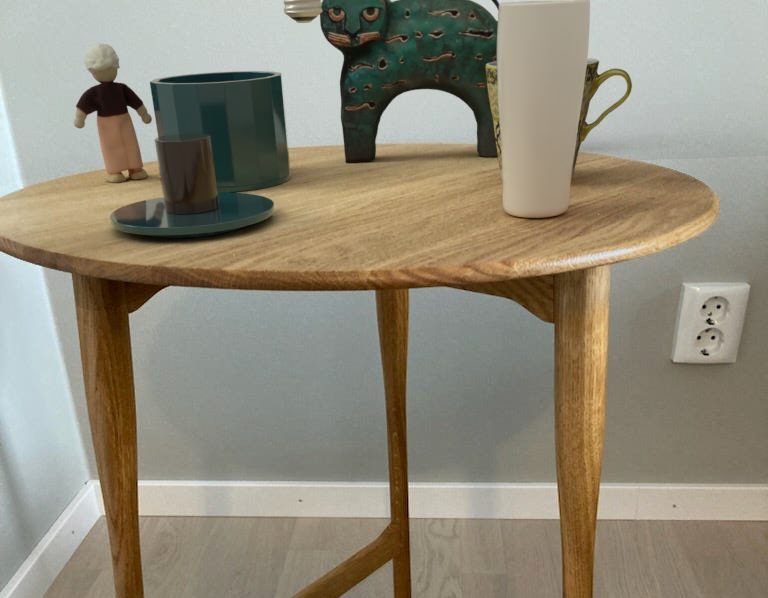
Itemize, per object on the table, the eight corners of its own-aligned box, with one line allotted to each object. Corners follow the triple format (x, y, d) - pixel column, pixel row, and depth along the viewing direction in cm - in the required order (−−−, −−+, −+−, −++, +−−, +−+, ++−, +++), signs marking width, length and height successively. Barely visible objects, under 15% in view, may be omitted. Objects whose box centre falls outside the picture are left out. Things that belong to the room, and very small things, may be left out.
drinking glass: (589, 206, 75) (604, -2, 68) (559, 224, 70) (571, 1, 63) (513, 201, 78) (519, 1, 71) (479, 218, 73) (482, 4, 66)
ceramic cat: (328, 165, 98) (313, -55, 88) (333, 155, 103) (320, -52, 93) (515, 158, 97) (521, -65, 87) (510, 148, 102) (515, -62, 92)
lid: (78, 239, 72) (60, 150, 69) (166, 204, 83) (153, 125, 80) (229, 247, 68) (218, 152, 65) (300, 208, 79) (293, 125, 76)
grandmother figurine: (147, 171, 99) (125, 40, 92) (164, 175, 96) (143, 40, 90) (80, 182, 95) (52, 46, 88) (95, 187, 92) (68, 46, 86)
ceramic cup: (472, 188, 84) (473, 67, 79) (496, 168, 92) (499, 58, 87) (617, 192, 80) (628, 65, 75) (629, 171, 88) (639, 55, 83)
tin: (142, 191, 89) (125, 84, 84) (204, 168, 99) (191, 72, 94) (257, 194, 85) (245, 83, 81) (309, 170, 95) (301, 70, 91)
